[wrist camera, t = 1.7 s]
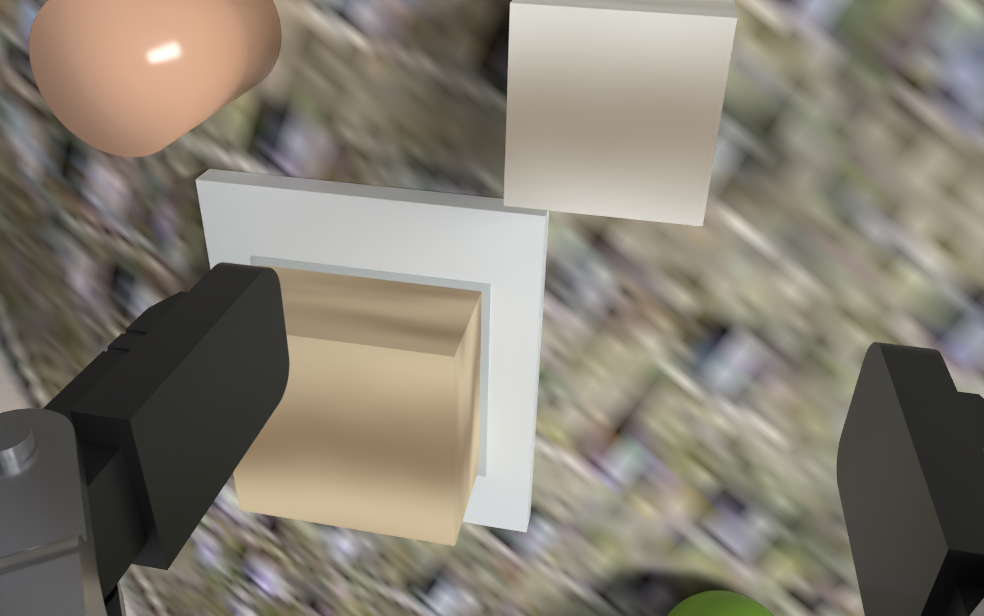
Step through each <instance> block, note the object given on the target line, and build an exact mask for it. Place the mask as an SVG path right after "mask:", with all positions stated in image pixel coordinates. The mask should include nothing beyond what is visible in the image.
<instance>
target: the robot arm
mask: <svg viewBox="0 0 984 616" xmlns="http://www.w3.org/2000/svg"><path fill="white" fill-rule="evenodd" d="M289 365H290V361H289V351H288V343H287V335H286V327H285V319H284V310H283V302H282V294H281V286H280V281H279V277H278V275H277V273H276V271H275V270H274V269H272V268H268V267H259V266H251V265H243V264H234V263H226V262H220V263H218V264H216V265H215V266H214V267H213V268H212V269H211V270H210V271H209V272H208V273H207V274H206V275H205V276H204V277H203V278H202V279H201V280H200V281H199V282H198V283H197V284H196V285H195V286H194V287H193V288H192V289H191V290H190V291H189V292H182V291H181V292H179V293H177V294H175V295H173V296H171V297H169V298H167V299H165V300H163V301H161V302H159V303H157V304H155V305H153V306H151V307H149V308H148V309H147V310H146V311H145V312H143V313H142V314H141V315H140V316H139V317H138V318H137V319H136V320H135V321H134V322H133V323H132V324H131V325H130V326H129V327H128V328H127V329H126V333H125V334H120V335H119V336H118V337H117V338H116V339H115V340H114V341H113V342H112V343H111V344H110V345H109V346H108V350H107V352H105V351H103V352H102V353H101V354H100V355H98V356H97V357H96V358H95V359H94V360H93V361H92V362H91V363H90V364H89V365H88V366H87V367H86V368H85V369H84V370H83V371H82V372H81V373H80V374H79V375H78V376H77V377H75V378H74V379H73V380H72V381H71V382H70V383H69V384H68V385H67V386H66V387H65V388H64V389H63V390H62V391H61V392H60V393H59V394H58V395H57V396H56V397H55V398H53V399H52V400H51V401H50V402H49V403H48V404H47V405H46V406H45V407H44V408H43V409H31V408H28V409H18V410H12V411H7V412H3V413H0V616H126V611H125V604H124V598H123V593H122V590H121V587H120V583H119V580H120V579H121V577H122V576H123V575H124V573H125V572H126V571H127V569H128V568H129V566H130V565H131V564H136V565H142V566H147V567H153V568H158V569H164V570H168V568H169V567H170V565H171V564H172V562H173V561H174V559H175V558H176V556H177V555H178V553H179V552H180V550H181V549H182V547H183V546H184V544H185V543H186V542H187V540H188V539H189V537H190V536H191V534H192V533H193V531H194V530H195V528H196V527H197V525H198V524H199V522H200V521H201V519H202V518H203V516H204V515H205V513H206V512H207V510H208V509H209V507H210V506H211V504H212V503H213V501H214V500H215V498H216V497H217V495H218V494H219V492H220V491H221V489H222V488H223V486H224V485H225V483H226V482H227V480H228V479H229V477H230V476H231V474H232V473H233V472H234V470H235V469H236V467H237V466H238V464H239V463H240V461H241V460H242V458H243V457H244V455H245V454H246V452H247V451H248V449H249V448H250V446H251V445H252V443H253V442H254V440H255V439H256V437H257V436H258V434H259V433H260V431H261V430H262V428H263V427H264V425H265V424H266V422H267V421H268V419H269V418H270V416H271V415H272V413H273V412H274V410H275V409H276V407H277V406H278V404H279V403H280V401H281V400H282V397H283V395H284V392H285V390H286V386H287V382H288V377H289ZM837 483H838V488H839V493H840V498H841V503H842V508H843V512H844V517H845V522H846V527H847V531H848V536H849V541H850V546H851V551H852V555H853V560H854V565H855V570H856V575H857V579H858V584H859V589H860V594H861V599H862V603H863V608H864V613H865V616H984V398H982V397H981V396H980V395H979V394H972V393H964V392H957V389H956V387H955V385H954V382H953V380H952V378H951V376H950V373H949V371H948V369H947V367H946V364H945V362H944V360H943V357H942V355H941V354H940V352H939V351H938V350H936V349H928V348H920V347H912V346H903V345H895V344H887V343H878V342H874V343H872V344H871V345H870V347H869V348H868V350H867V352H866V355H865V358H864V361H863V364H862V367H861V371H860V374H859V377H858V381H857V384H856V387H855V391H854V394H853V397H852V401H851V404H850V407H849V411H848V414H847V417H846V421H845V424H844V427H843V431H842V434H841V438H840V442H839V448H838V455H837Z"/></svg>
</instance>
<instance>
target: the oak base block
mask: <svg viewBox="0 0 984 616" xmlns="http://www.w3.org/2000/svg"><path fill="white" fill-rule="evenodd" d="M259 267H268V268H272V269H274V270H275V271H276V273H277V275H278V277H279V281H280V286H281V294H282V302H283V310H284V319H285V327H286V335H287V343H288V351H289V361H290V365H289V377H288V382H287V386H286V390H285V392H284V395H283V397H282V400H281V401H280V403H279V404H278V406H277V407H276V409H275V410H274V412H273V413H272V415H271V416H270V418H269V419H268V421H267V422H266V424H265V425H264V427H263V428H262V430H261V431H260V433H259V434H258V436H257V437H256V439H255V440H254V442H253V443H252V445H251V446H250V448H249V449H248V451H247V452H246V454H245V455H244V457H243V458H242V460H241V461H240V463H239V464H238V466H237V467H236V469H235V470H234V472H233V474H234V480H235V485H236V491H237V497H238V502H239V508H240V510H243V511H249V512H255V513H261V514H267V515H273V516H279V517H284V518H290V519H296V520H302V521H308V522H314V523H320V524H326V525H332V526H338V527H344V528H350V529H356V530H362V531H368V532H374V533H380V534H386V535H392V536H398V537H404V538H410V539H416V540H422V541H428V542H434V543H440V544H445V545H451V546H455V543H456V540H457V536H458V533H459V530H460V527H461V524H462V521H463V517H464V514H465V511H466V508H467V505H468V501H469V498H470V495H471V492H472V489H473V485H474V482H475V479H476V476H477V473H478V467H479V412H480V358H481V303H482V291H474V290H465V289H457V288H449V287H440V286H432V285H424V284H415V283H407V282H399V281H390V280H382V279H374V278H365V277H357V276H348V275H340V274H332V273H323V272H315V271H307V270H298V269H290V268H282V267H273V266H265V265H260V266H259Z"/></svg>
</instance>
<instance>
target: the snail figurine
mask: <svg viewBox="0 0 984 616" xmlns="http://www.w3.org/2000/svg"><path fill="white" fill-rule="evenodd" d="M667 616H774V615H773V614H772V613H771V612H770V611H769V610H767V609H766V608H765V607H764V606H762V605H761V604H760V603H758V602H756V601H755V600H753V599H751V598H749V597H747V596H744V595H742V594H739V593H735V592H730V591H722V590H714V591H706V592H701V593H698V594H695V595H693V596H690V597H688V598H687V599H685V600H683V601H682V602H680V603H679V604H678V605H676V606H675V607H674V608H673V609H672V610H671V611H670V613H669V614H668V615H667Z"/></svg>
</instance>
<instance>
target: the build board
mask: <svg viewBox="0 0 984 616" xmlns="http://www.w3.org/2000/svg"><path fill="white" fill-rule="evenodd" d="M196 186H197V192H198V198H199V204H200V210H201V216H202V222H203V227H204V233H205V239H206V245H207V251H208V257H209V263H210V269H212V268H213V267H214V266H215V265H216V264H218V263H220V262H226V263H234V264H243V265H251V266H260V265H265V266H273V267H282V268H290V269H298V270H307V271H315V272H323V273H332V274H340V275H348V276H357V277H365V278H374V279H382V280H390V281H399V282H407V283H415V284H424V285H432V286H440V287H449V288H457V289H465V290H474V291H482V303H481V358H480V412H479V467H478V473H477V476H476V479H475V482H474V485H473V489H472V492H471V495H470V498H469V501H468V505H467V508H466V511H465V514H464V517H463V521H462V522H467V523H473V524H479V525H485V526H491V527H497V528H504V529H510V530H516V531H522V532H527V527H528V523H529V518H530V511H531V495H532V479H533V463H534V447H535V430H536V414H537V398H538V382H539V366H540V350H541V334H542V318H543V302H544V286H545V269H546V253H547V237H548V221H549V210H541V209H531V208H521V207H512V206H504V199H500V198H490V197H481V196H471V195H461V194H451V193H441V192H432V191H422V190H412V189H402V188H393V187H383V186H373V185H363V184H354V183H344V182H334V181H324V180H314V179H305V178H295V177H285V176H275V175H266V174H256V173H246V172H236V171H227V170H217V169H208V170H207V171H206V172H205V173H203V174H202V175H201V176H199V177H198V178H197V179H196Z"/></svg>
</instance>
